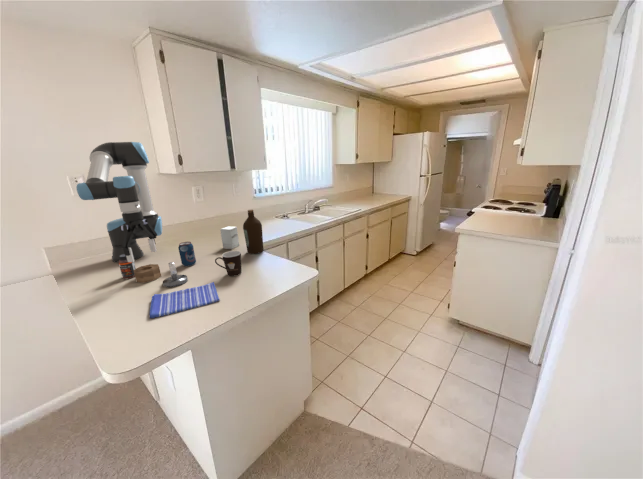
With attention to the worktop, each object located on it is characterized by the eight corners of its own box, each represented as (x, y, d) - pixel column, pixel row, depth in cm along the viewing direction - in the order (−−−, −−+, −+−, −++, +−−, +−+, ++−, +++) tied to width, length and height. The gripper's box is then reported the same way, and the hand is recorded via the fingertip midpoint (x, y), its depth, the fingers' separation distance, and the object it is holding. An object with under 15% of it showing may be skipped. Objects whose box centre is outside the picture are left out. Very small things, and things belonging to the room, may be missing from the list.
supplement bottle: (121, 280, 126) (115, 258, 122) (123, 275, 131) (117, 254, 127) (136, 277, 128) (130, 255, 125) (138, 273, 133) (132, 252, 130)
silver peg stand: (158, 287, 117) (153, 267, 114) (173, 277, 126) (168, 258, 123) (178, 287, 115) (174, 267, 113) (192, 277, 125) (188, 259, 122)
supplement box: (232, 249, 163) (229, 229, 159) (222, 248, 166) (219, 229, 162) (239, 245, 170) (237, 226, 166) (230, 244, 172) (227, 226, 168)
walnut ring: (131, 282, 123) (128, 272, 121) (147, 273, 132) (145, 264, 131) (150, 282, 122) (147, 272, 120) (165, 273, 131) (163, 264, 129)
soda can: (190, 267, 138) (186, 245, 134) (179, 266, 139) (174, 245, 136) (199, 262, 144) (195, 241, 141) (188, 261, 146) (183, 241, 142)
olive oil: (262, 247, 164) (258, 207, 156) (266, 252, 154) (261, 210, 147) (245, 250, 160) (239, 209, 152) (247, 255, 150) (241, 212, 143)
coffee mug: (247, 270, 130) (244, 251, 127) (236, 278, 122) (233, 257, 119) (227, 268, 134) (224, 249, 131) (216, 275, 126) (212, 255, 123)
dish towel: (153, 300, 107) (151, 293, 106) (215, 285, 117) (214, 279, 116) (149, 321, 92) (147, 314, 91) (220, 302, 103) (219, 296, 102)
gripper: (114, 217, 105) (128, 266, 111) (159, 206, 129) (168, 248, 135) (98, 217, 106) (112, 266, 112) (145, 207, 130) (155, 248, 136)
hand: (143, 256), depth 123 cm, fingers open, 13 cm apart
